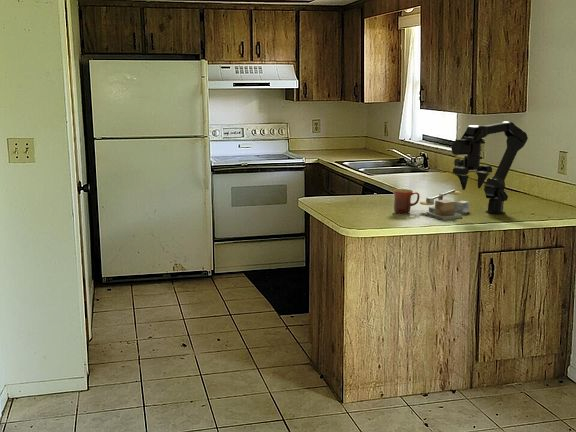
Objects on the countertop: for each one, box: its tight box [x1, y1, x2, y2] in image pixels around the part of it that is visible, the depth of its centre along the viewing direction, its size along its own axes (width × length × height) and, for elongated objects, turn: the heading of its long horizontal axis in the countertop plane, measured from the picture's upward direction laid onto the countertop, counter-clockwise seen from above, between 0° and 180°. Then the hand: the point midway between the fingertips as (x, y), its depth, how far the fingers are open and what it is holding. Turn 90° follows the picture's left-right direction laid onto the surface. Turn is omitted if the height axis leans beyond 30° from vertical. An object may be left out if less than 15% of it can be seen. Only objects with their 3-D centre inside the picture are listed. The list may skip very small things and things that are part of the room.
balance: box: [419, 189, 462, 212], centre depth 323 cm, size 22×6×9 cm, turn 120°
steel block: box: [454, 199, 470, 215], centre depth 321 cm, size 5×5×5 cm
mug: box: [392, 188, 421, 215], centre depth 318 cm, size 12×9×10 cm
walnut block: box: [434, 199, 455, 216], centre depth 311 cm, size 6×6×6 cm
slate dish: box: [425, 211, 463, 221], centre depth 311 cm, size 11×11×1 cm
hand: (471, 189), depth 312 cm, fingers open, 9 cm apart
